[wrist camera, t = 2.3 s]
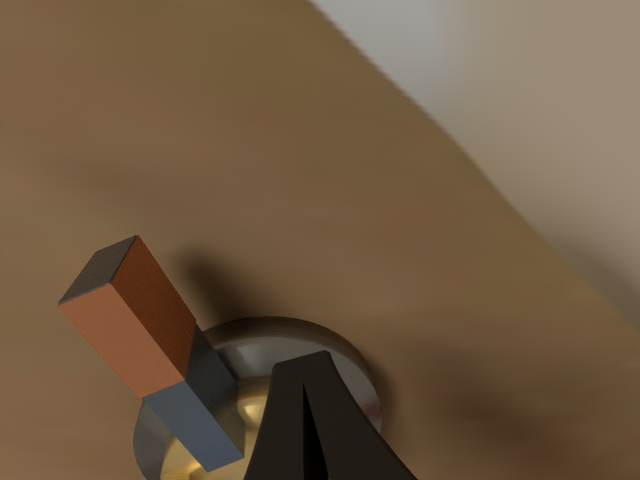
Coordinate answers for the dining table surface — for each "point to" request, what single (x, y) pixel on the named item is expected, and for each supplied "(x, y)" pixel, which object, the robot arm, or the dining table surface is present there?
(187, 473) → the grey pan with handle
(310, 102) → the dining table surface
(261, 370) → the rounded grey metal base
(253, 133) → the dining table surface
